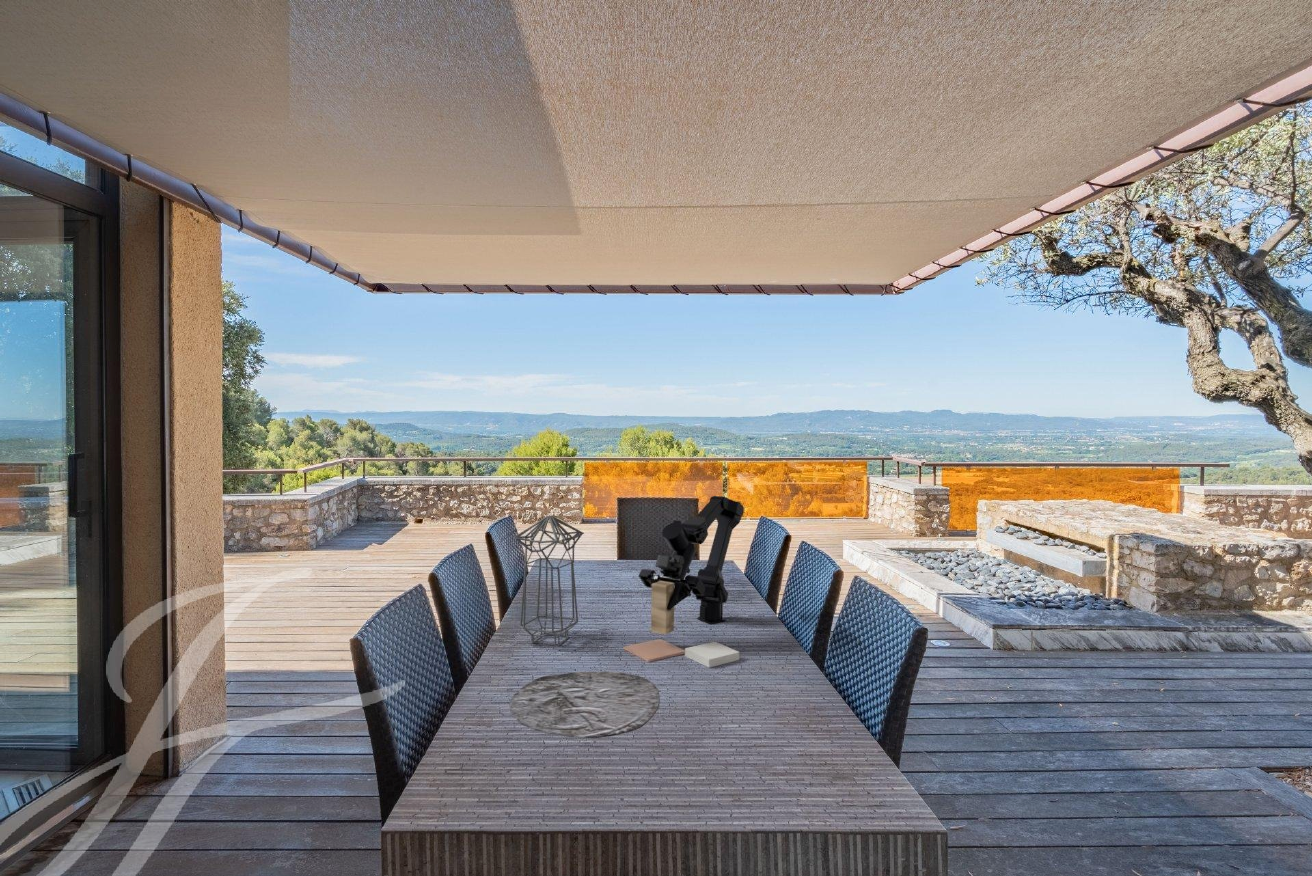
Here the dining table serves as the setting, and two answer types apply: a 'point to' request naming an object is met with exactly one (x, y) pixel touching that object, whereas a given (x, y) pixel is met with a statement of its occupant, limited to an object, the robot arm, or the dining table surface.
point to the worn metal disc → (586, 704)
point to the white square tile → (712, 654)
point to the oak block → (662, 608)
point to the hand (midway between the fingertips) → (660, 608)
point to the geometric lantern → (540, 527)
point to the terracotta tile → (654, 650)
